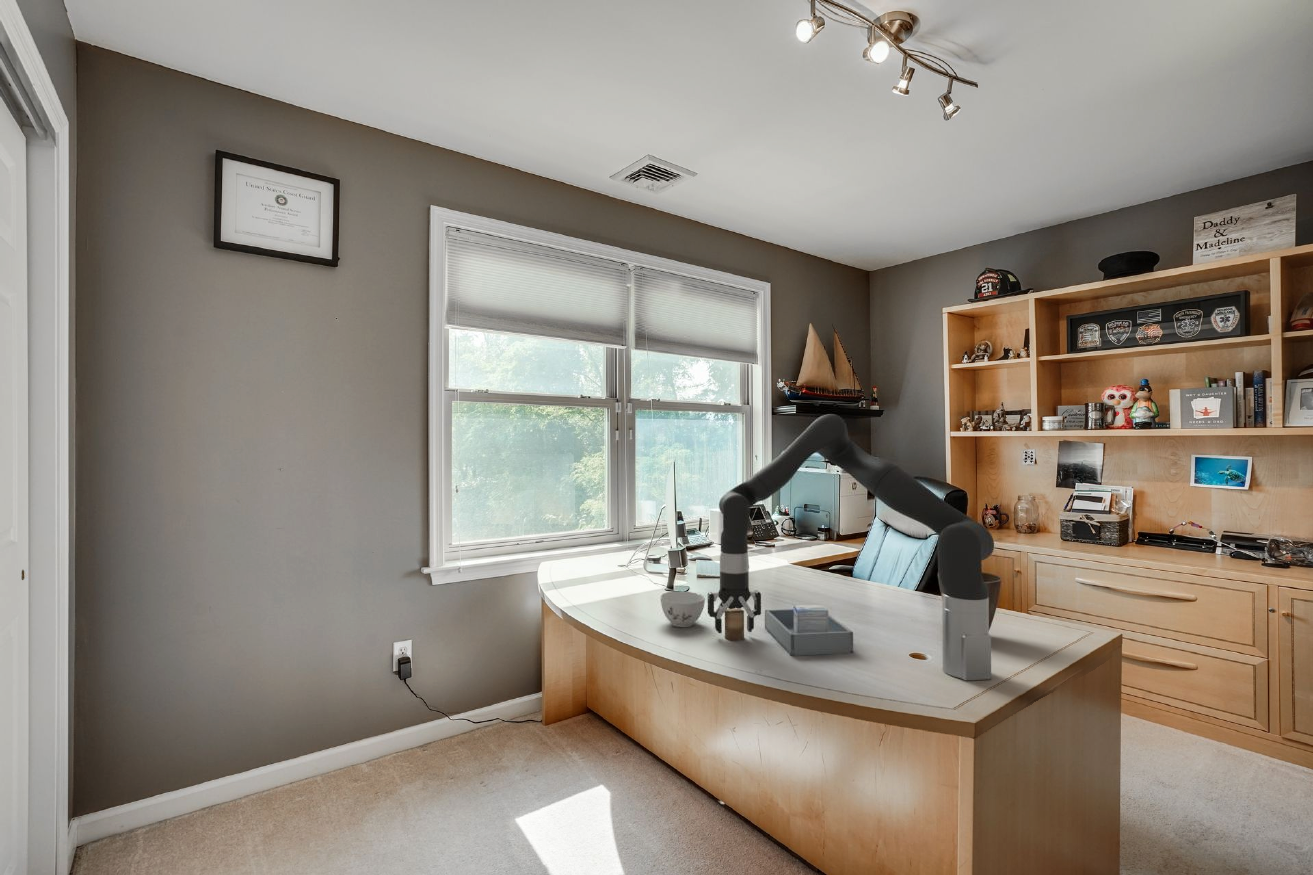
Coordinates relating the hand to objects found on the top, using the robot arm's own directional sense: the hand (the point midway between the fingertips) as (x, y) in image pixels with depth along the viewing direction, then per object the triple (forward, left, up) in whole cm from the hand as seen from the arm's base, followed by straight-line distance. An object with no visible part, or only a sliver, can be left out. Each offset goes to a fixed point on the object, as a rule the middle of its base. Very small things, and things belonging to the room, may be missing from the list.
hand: (734, 631), depth 162 cm
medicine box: (-7, -18, -1) cm, 19 cm away
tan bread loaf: (0, 0, -2) cm, 2 cm away
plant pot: (-7, -61, -2) cm, 61 cm away
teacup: (+14, +11, -2) cm, 18 cm away
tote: (-4, -18, -2) cm, 19 cm away
